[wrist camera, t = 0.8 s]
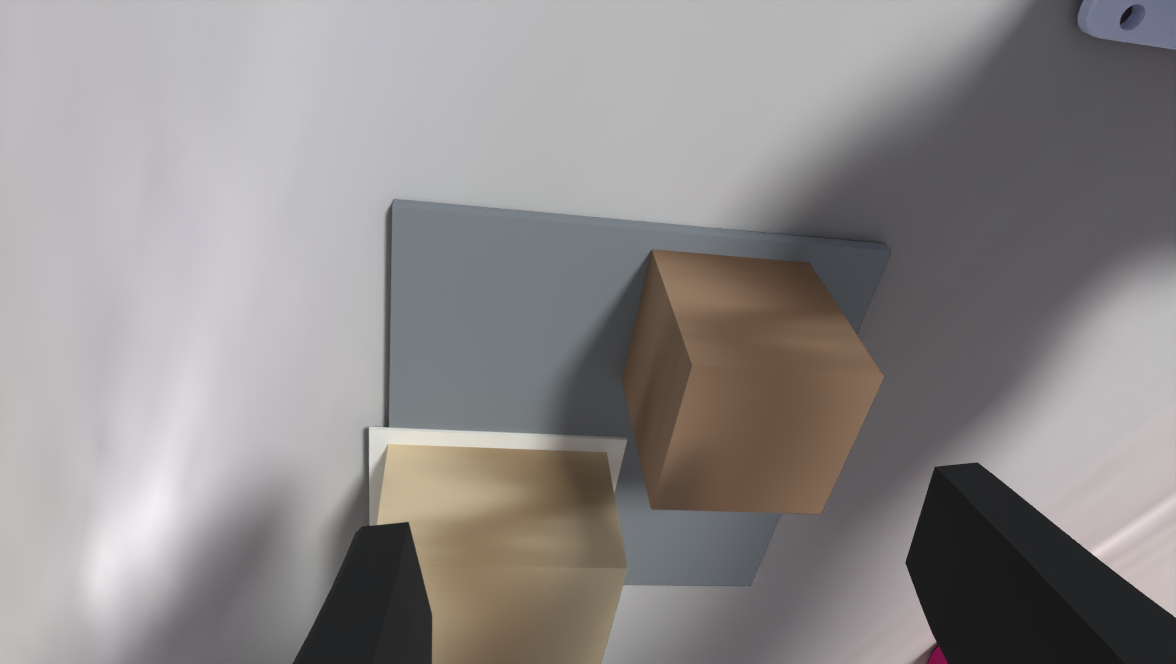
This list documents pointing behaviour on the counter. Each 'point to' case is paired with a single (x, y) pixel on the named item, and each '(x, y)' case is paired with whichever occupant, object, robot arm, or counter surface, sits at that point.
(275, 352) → the counter surface
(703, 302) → the walnut block
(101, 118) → the counter surface
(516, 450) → the oak base
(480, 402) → the slate mat
